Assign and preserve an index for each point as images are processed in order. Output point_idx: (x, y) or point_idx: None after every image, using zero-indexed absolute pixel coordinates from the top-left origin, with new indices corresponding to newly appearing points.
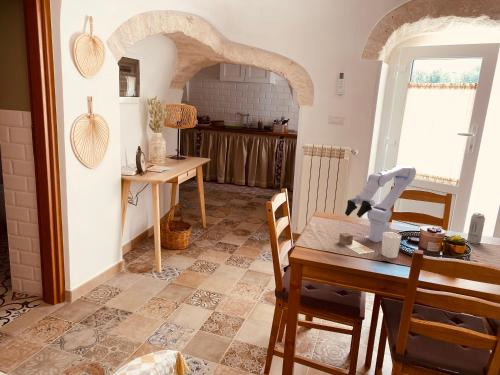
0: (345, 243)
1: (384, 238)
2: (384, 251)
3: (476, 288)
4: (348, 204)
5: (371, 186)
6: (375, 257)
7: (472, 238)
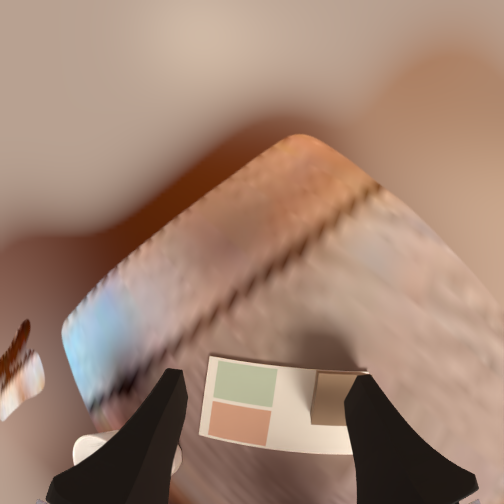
0: (316, 374)
1: None
2: None
3: (4, 403)
4: (421, 458)
5: None
6: None
7: None
